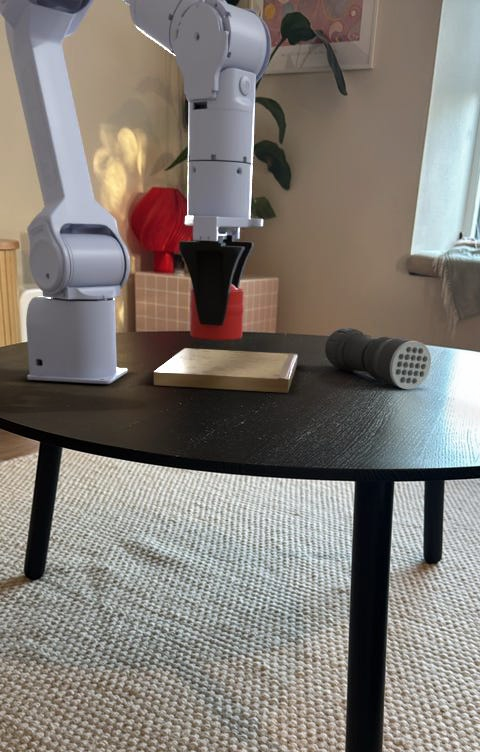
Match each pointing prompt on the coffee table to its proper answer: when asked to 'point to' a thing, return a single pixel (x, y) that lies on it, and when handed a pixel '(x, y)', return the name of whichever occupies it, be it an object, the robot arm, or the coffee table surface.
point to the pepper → (231, 323)
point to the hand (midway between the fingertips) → (216, 321)
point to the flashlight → (380, 357)
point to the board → (228, 370)
